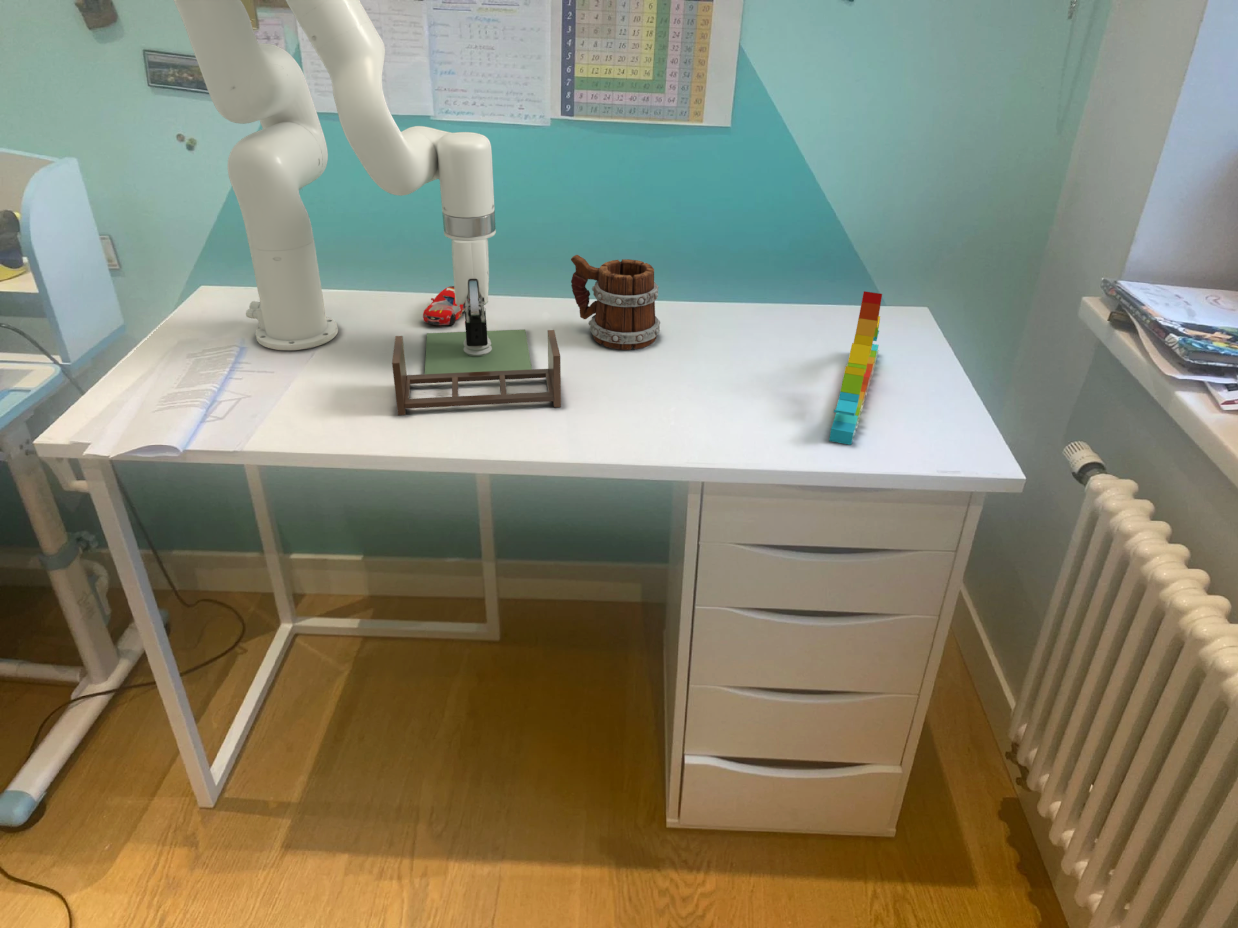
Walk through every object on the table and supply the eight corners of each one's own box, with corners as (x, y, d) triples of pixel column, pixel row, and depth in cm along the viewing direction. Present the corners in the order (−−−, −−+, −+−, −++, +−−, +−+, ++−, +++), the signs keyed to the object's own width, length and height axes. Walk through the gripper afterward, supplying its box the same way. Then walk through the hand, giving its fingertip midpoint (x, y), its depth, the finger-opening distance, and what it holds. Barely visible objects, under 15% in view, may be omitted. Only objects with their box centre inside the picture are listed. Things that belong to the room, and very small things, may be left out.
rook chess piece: (497, 348, 145) (494, 300, 141) (484, 359, 142) (481, 311, 138) (471, 344, 147) (468, 296, 142) (458, 355, 143) (454, 306, 139)
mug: (656, 355, 145) (644, 263, 138) (571, 357, 149) (555, 268, 142) (672, 327, 155) (661, 239, 147) (592, 330, 159) (578, 245, 152)
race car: (447, 331, 152) (445, 308, 150) (418, 326, 153) (415, 303, 151) (483, 303, 162) (481, 281, 160) (455, 298, 164) (453, 277, 162)
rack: (400, 386, 134) (395, 335, 130) (554, 379, 138) (554, 329, 133) (397, 415, 127) (391, 363, 123) (561, 407, 130) (560, 355, 126)
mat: (427, 335, 150) (426, 333, 150) (525, 331, 152) (525, 329, 152) (424, 379, 137) (424, 376, 136) (532, 374, 139) (532, 371, 139)
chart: (852, 445, 123) (871, 342, 115) (828, 440, 124) (845, 338, 116) (878, 356, 147) (895, 266, 140) (858, 352, 148) (873, 263, 140)
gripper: (443, 207, 140) (452, 320, 150) (442, 242, 126) (452, 363, 136) (493, 206, 141) (498, 318, 151) (497, 240, 127) (503, 361, 137)
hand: (476, 338), depth 143 cm, fingers closed on rook chess piece, 3 cm apart
